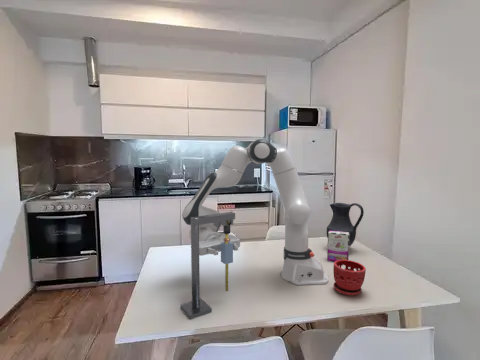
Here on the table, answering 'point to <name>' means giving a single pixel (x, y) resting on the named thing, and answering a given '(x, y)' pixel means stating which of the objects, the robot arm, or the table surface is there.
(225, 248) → the sleeve
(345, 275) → the plant pot
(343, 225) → the pitcher
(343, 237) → the candy bar box
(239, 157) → the robot arm
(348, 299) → the table surface
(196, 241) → the grey gallows stand
